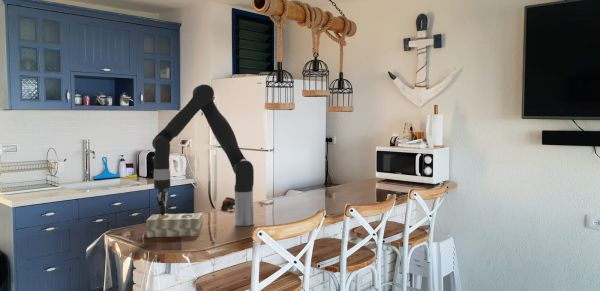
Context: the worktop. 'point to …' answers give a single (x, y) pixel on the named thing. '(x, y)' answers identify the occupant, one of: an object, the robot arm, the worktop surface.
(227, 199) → the pottery mug
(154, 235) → the ash socket block
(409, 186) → the worktop surface
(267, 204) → the worktop surface
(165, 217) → the brass peg
